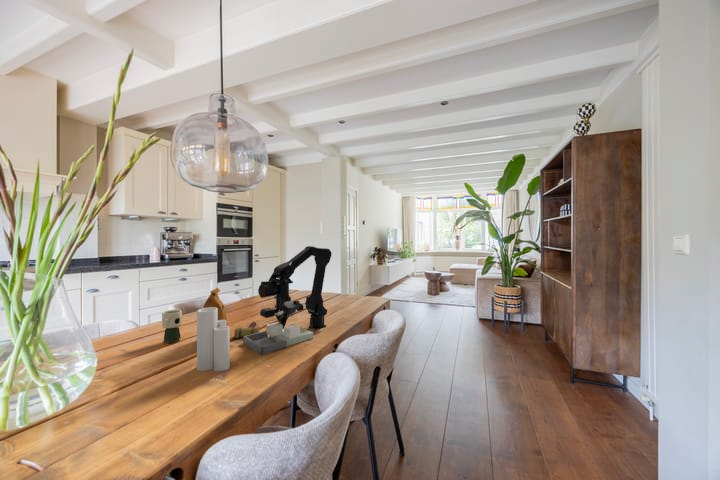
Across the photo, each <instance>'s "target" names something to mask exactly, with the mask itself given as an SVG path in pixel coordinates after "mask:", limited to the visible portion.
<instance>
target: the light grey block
mask: <svg viewBox="0 0 720 480" xmlns="http://www.w3.org/2000/svg"><path fill="white" fill-rule="evenodd" d="M300 327H301V326H299V325H298V324H295V323H293V324H289V325H285V326H284V336H286V337H288V338H290V339H291V338H294V337H298V336H300Z"/></svg>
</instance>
